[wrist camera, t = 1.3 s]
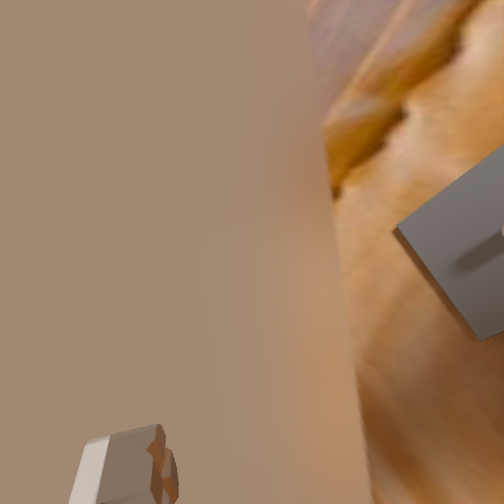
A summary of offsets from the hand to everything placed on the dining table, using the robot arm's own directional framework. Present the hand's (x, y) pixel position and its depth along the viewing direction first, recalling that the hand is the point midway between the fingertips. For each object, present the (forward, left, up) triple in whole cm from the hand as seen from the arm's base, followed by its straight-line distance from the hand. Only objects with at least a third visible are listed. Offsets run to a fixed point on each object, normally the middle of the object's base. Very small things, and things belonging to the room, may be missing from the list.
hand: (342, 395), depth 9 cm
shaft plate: (+1, -2, -42) cm, 42 cm away
